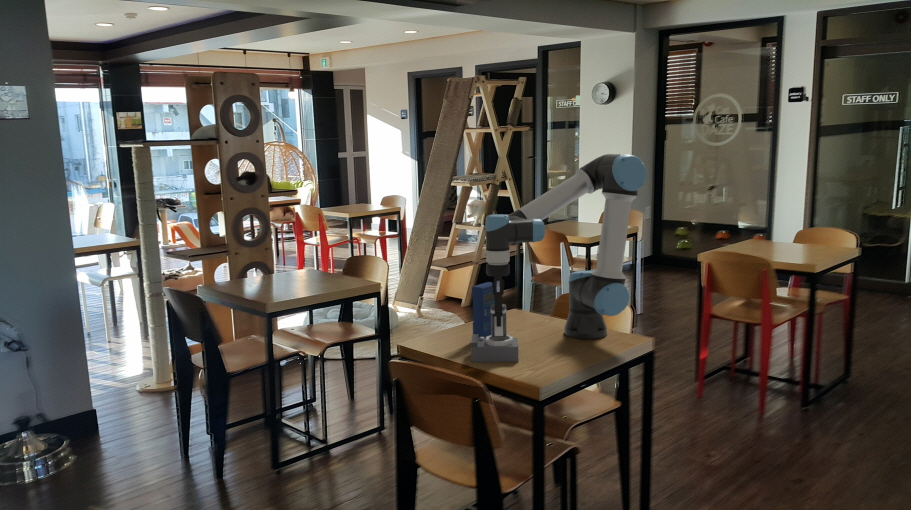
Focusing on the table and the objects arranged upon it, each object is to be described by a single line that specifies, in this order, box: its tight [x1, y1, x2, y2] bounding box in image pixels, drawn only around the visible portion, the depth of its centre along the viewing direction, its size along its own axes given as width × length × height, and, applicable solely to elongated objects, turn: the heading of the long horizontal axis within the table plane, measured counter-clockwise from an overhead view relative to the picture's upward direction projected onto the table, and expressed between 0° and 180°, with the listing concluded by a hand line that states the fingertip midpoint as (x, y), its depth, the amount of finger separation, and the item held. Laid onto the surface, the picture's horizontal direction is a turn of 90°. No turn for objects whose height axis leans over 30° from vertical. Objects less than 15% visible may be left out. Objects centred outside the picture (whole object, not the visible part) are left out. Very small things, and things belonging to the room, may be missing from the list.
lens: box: [491, 303, 508, 338], centre depth 230 cm, size 5×5×10 cm
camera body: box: [470, 333, 519, 363], centre depth 231 cm, size 15×10×6 cm, turn 86°
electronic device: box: [471, 281, 495, 338], centre depth 251 cm, size 10×5×20 cm, turn 141°
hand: (498, 333), depth 230 cm, fingers closed on lens, 5 cm apart
